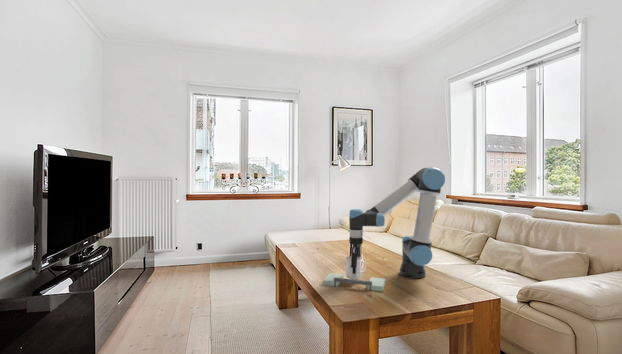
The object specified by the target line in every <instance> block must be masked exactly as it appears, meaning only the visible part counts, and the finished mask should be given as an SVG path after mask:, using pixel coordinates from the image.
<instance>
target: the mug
mask: <svg viewBox="0 0 622 354" xmlns="http://www.w3.org/2000/svg"><path fill="white" fill-rule="evenodd" d="M351 258H352V255H350V256H347V257H345V276H346V279H352V267H350V266H351ZM362 264H364V266H365V267H364V270H362ZM366 269H367V264H366V262H365V261H364V260H363V259H362V257H361V258H360V257H357V279H356V280H360V279H361V277H362V274H364V273H365V272H366Z"/></svg>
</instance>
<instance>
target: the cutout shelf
mask: <svg viewBox="0 0 622 354" xmlns="http://www.w3.org/2000/svg"><path fill="white" fill-rule="evenodd" d="M341 283H346V284H354V285H355V284H356V285H363V286H364V285H365V286H367V288H366V290H368V291H375V292H376V291H377V292H384V289H385V285H386V278H381V277H372V276H371V277H370V278H369V280H361V279H350V278H344V274H343V273H342V274H341V273H333V272H332V273H330V272H329V274H327V276H326V277H325V278H324V279H323V286H331V287H339V285H340V284H341Z"/></svg>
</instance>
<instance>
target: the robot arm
mask: <svg viewBox="0 0 622 354" xmlns="http://www.w3.org/2000/svg"><path fill="white" fill-rule="evenodd" d="M445 176H446V175H445V174H444V172H443V171H442V170H441V169H439V168H436V167H423V168H421V169H419V170H418V171H417V172H415V174H413V175H412V176H411V177H409V178H408V180H407V181H406V182H405V183H404V184H403V185H401V186H400V187H398V188H397V189H396V190H395V191H393V192H391V194H388V196H386V197H385V198H384V199H382V200H381V201H379V202H378V203H377V204H376V205H374V206H373V207H372V208H370V209H367V210H366V211H365V212H364V210H363V209H360V208H359V209H358V208H352V209H350V210H349V222H348V223H349V230H348V233H349V239H348V241H349V244H350V245H352V247H351V256H352V258H351V266H350V267H352V279H353V280H358V279H357V257H360V258H361V259H362V257H361V245H363V244H364V243H363V242H364V239H363V236H364V227H377V228H379V227H384V226H385V222H386V221H385V215H386V214H387V213H389V212H391V210H393V209H394V208H396V207H397V206H399V204H401V203H403V202H404V201H405V200H407V199H408V198H409V197H411V196H412V195H413V194H415V193H420V194H419V200H418V207H417V211H416V212H417V213H416V216H415V217H416V218H415V224H414V229H413V230H414V231H413V234H412V235H405V236H404V235H403V237H402V241H401V242H402V245H401V246H402V253H401V254H402V256H401V257H402V258H401V259H402V260H401V265H400V267H399V275H400V276H402V277H405V278H409V279H423V278H426V276H427V273H426V271H427V270H426V268H425V266H426V265H428V264H429V263H430V262H431V261H432V259H433V251H432V243H433V241H432V240H431V239H430V237H431V234H432V233H431V232H432V226H433V220H434V214H435V207H436V202H437V196H439V195H440V194H441V192H442V191H441V188H442V187H443V186H444V185H445V183H446V177H445Z"/></svg>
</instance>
